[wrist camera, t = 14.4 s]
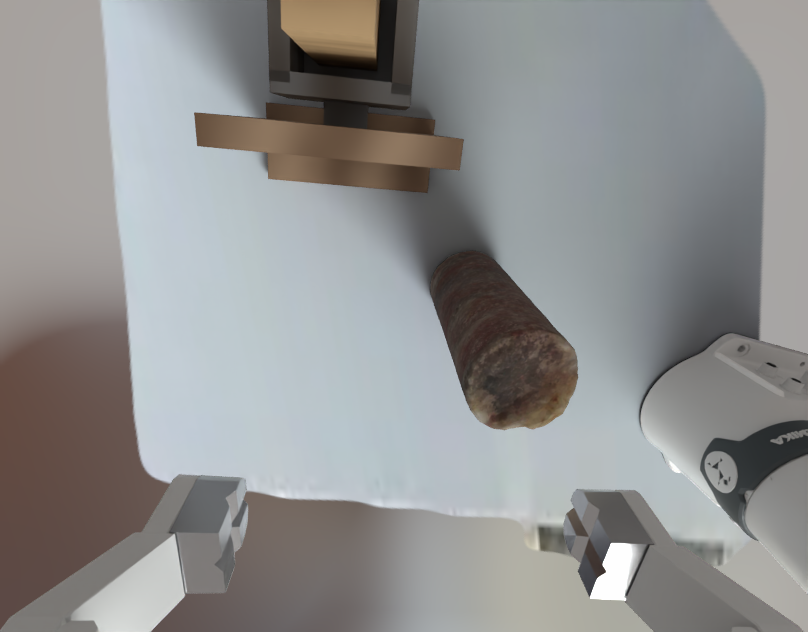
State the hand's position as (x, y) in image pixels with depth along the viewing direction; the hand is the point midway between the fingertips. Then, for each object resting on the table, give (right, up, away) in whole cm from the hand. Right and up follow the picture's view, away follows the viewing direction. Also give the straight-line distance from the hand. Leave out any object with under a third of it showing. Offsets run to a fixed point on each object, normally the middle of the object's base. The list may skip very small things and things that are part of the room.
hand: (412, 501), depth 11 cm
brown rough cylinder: (+6, +8, +33) cm, 35 cm away
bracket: (-4, +23, +26) cm, 35 cm away
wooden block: (-4, +24, +18) cm, 30 cm away
